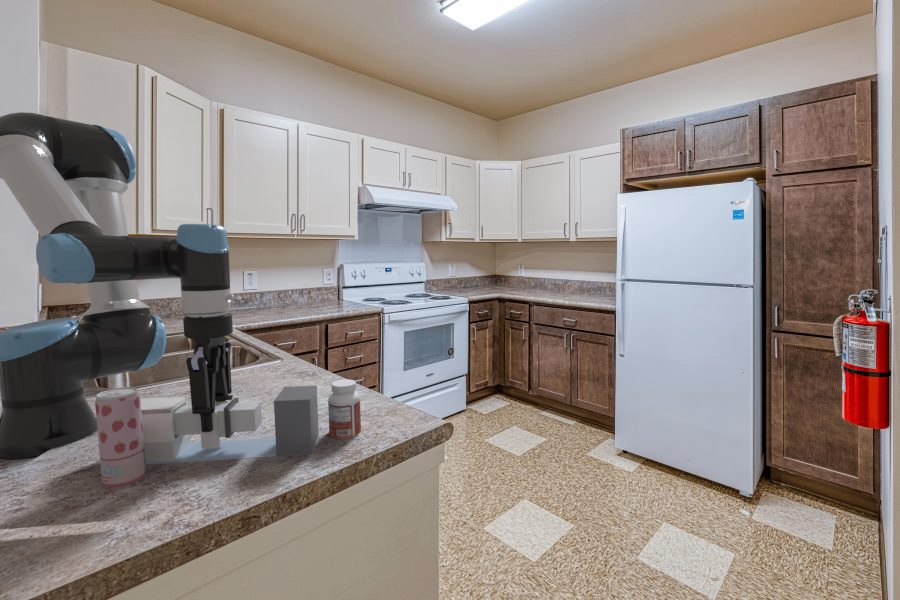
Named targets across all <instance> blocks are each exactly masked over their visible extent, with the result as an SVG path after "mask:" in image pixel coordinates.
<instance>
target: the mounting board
mask: <svg viewBox="0 0 900 600" xmlns="http://www.w3.org/2000/svg"><path fill="white" fill-rule="evenodd" d="M318 437H319V435H318ZM219 442H220V446H219V448H209V449H202V447H201V441H195V442H193V441H192V442H191V445H190V446H189V447H188V448H187V449H186V450H185V451H184V452H183V453H182V454H181V455H180V456H179V457H178V458H177V459H176V460H174V461H163V462H147V463H146V466H147V465H149V466H150V465H161V464H163V465H164V464H176V463H177V464H179V463H180V464H181V463H194V462H207V461H208V462H209V461H210V462H211V461H223V460H224V461H225V460H227V461H228V460H242V459H256V458H257V459H259V458H270V457H272V458H274V457H277V456H276V437H266V438H249V439H247V438H245V439H230V440H219ZM315 447H316V445H315V446H314V448H315ZM304 455H307V454H302V455H301V456H304ZM288 456H291V455H286V456H285V457H288Z"/></svg>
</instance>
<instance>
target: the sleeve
mask: <svg viewBox="0 0 900 600" xmlns="http://www.w3.org/2000/svg"><path fill="white" fill-rule="evenodd" d="M140 402H141V414H142V425H143V437H144V448H145V459H146V463H147V462H163V461H174V460H176V459H177V458H178V457H179V456H180V455H181V454H182V453H183V452H184V451H185V450H186V449H187V448H188V447H189V446H190V445H191V443H192V439H191V437H192V436H191V435H175V433H174V420H173V411H174V410H175V409H177V408H178V407H179V406H181V405H189V397H188V395H182V396H181V395H179V396H177V395H176V396H175V395H174V396H156V397H140Z"/></svg>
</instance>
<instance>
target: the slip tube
mask: <svg viewBox="0 0 900 600" xmlns="http://www.w3.org/2000/svg"><path fill="white" fill-rule="evenodd" d="M215 411H218V426H219V433H225V436H226V437H225V439H230V438H231V437H232V436H233V435H234V433H241V432H242V433H245V432H257V430H258V429H259V428H260V426H261V424H262V422H263V417H262V416H263V415H262V414H263V413H262V402H261V401H248V402H247V401H246V402H240V400H239V397H234V398H232V400H230V402H227V403H221V404H215ZM173 420H174V433H175V435H190V436H191V435H201V432H200V417H199V414H193V413H192V404H188V405H181V406H179V407H178V408H177V409H175V410H174V411H173Z"/></svg>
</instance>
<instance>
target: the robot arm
mask: <svg viewBox="0 0 900 600" xmlns="http://www.w3.org/2000/svg"><path fill="white" fill-rule="evenodd" d="M135 168H137V161H136V156H135V153H134V150H133V147H132V145H131V143H130V142H129V140H128V138H126V137H125V135H123V134H122V133H121V132H119V131H118V130H115V129H111V128H107V127H103V126H101V125H98V124H89V123H83V122H78V121H73V120H68V119H65V118H58V117H53V116H48V115H43V114H41V113H34V112H25V111H23V112H12V113H8V114H5V115H1V116H0V179H1V180H3V181H4V183H5V184H6V186H7V187H8V189H9V190H10V192H11V193H12V195H13V197H14V198H15V199H16V201H17V203H18V204H19V205H20V206H21V208H22V210H23V211H24V213H25V214H26V216H27V218H28V219H29V221H30V222H31V224H32V225H33V227H34V228H35V229H36V231H37V232H38V234H39V236H40V238H39V239H38V240H37V243H36V246H35V247H36V248H35V259H36V264H37V265H38V271H39V273H40V275H41V276H42V277H43V278H44V280H46V281H48V282H50V283H54V284H78V285H79V284H80V285H81V284H86V287H87V292H88V293H87V294H88V298H89V303H90V306H89V308H88V309H87V310H86V311H85V312H84V313H83V314H82V318H83V322H84V323H79V321H77V319H76V318H74V317H61V318H60V317H59V318H53V319H43V320H38V321H33V322H28V323H24V324H19V325H15V326H12V327H9V328H7V329H5V330H2V331H1V332H0V399H1V409H2V410H1V414H0V458H1V459H24V458H32V457H38V456H41V455H43V454H45V453H47V452H48V451H50V450H52V449H57V448H60V447H63V446H66V445H71V444H73V443H76V442H78V441H81V440H83V439H85V438H87V437H89V436H92V434H94V433H95V432H97V431H98V430H97V419H96V414H95V413H94V412H93V410H92V408H91V406H90V404H89V402H88V401H87V398H86V396H85V392H84V382H85V381H90V380H95V379H101V378H106V377H109V376H114V375H115V376H116V375H119V374H125V373H129V372H137V371H139V370H143V369H146V368H151V367H153V366H155V365H157V363H158V362H159V361H161V359H162V357H163V355H164V353H165V350H166V347H167V330H166V326H165V324H164V323H163V320H162V318H161V317H160V316H158V315H154V314H151V310H150V306H149V305H147V304H145V303H144V302H142V301H141V300H140V295H139V289H138V282H137V281H138V280H139V281H141V280H160V279H161V280H162V279H163V280H164V279H180V297H181V298H180V299H181V312H182V313H183V314H185V316H184V317H183V318H182V323H183V335H184V337H185V338H186V339H189V340H193V341H194V347H193V357H187V358H186V359H185V360H186V361H185V364H186V367H187V371H188V380H189V390H190V400H191V401H190V403H191V405H192V413H193V414H199V417H200V432H201V434H200V442H201V447H202V449H209V448H219V446H220V442H219V441H220V438H226V436H225V433H219V426H218V411H215V404H221V403H228V401H232V400H233V399H234V398H233V397H234V395H232V392H233V389H232V371H231V370H232V369H231V364H232V363H231V350H232V349H231V346H232V344H231V343H232V342H230V341H226V342H225V337H228V336H230V335H232V334H233V333H234V332H233V331H234V329H233V315H232V314H231V313H229V312H230V311H231V310H232V300H234V298H235V297H234V294H231V277H230V276H231V273H230V272H231V271H230V246H229V243H228V233H227V230H226V228H225V227H224V226H223V225H219V224H211V223H209V224H208V223H183V224H180V225H179V226H178V227H177V229H176V230H177V231H176V232H177V233H176V236H152V235H151V236H149V235H148V236H146V235H145V236H142V235H139V236H138V235H137V236H136V235H129V232H128V226H127V220H126V215H125V211H124V210H125V209H124V204H123V199H122V195H123V194H124V193H125V192H127V190H128V188H129V185H128V184H131V183H132V182H133V180H134V179H135V177H136V173H137V172H136V169H135ZM230 394H231V395H230Z"/></svg>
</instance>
